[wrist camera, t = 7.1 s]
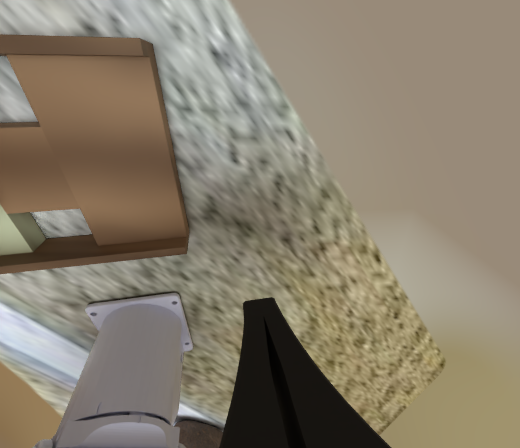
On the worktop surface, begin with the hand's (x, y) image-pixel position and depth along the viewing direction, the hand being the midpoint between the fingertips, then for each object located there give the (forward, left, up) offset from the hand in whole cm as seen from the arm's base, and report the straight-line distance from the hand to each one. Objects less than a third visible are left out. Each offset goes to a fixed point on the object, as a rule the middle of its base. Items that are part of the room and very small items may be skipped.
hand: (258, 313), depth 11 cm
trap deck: (+5, +12, -9) cm, 16 cm away
